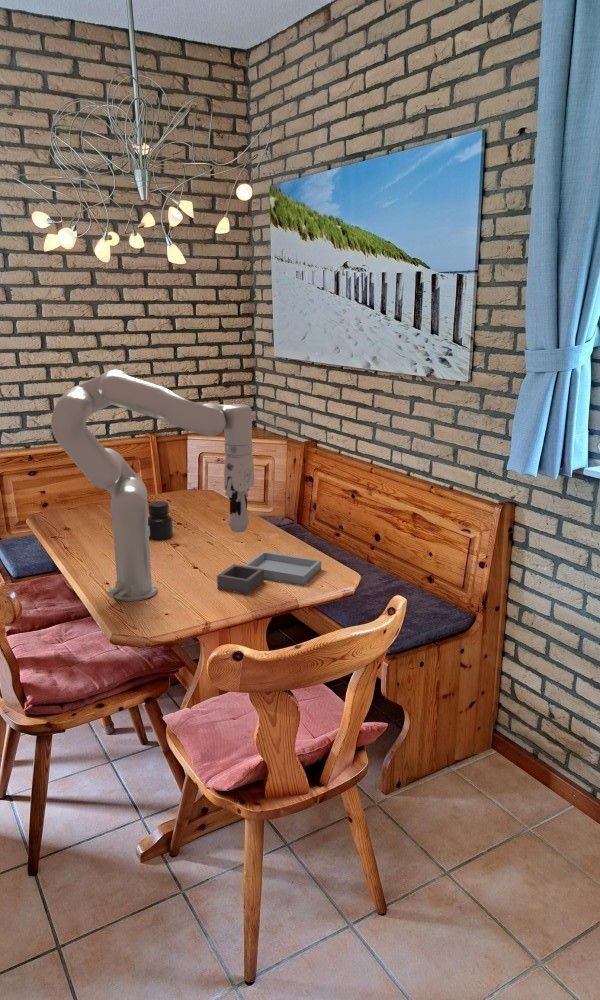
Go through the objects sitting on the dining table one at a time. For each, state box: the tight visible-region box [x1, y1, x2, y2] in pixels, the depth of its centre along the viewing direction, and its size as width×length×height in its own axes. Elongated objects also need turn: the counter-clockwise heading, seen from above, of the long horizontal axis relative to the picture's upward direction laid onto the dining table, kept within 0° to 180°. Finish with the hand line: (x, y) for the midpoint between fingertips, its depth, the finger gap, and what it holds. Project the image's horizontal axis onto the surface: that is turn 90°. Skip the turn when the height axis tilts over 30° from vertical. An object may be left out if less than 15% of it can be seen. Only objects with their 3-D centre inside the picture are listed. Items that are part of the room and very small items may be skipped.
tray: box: [242, 550, 322, 587], centre depth 217 cm, size 14×20×3 cm
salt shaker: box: [227, 489, 250, 533], centre depth 201 cm, size 6×6×13 cm
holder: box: [216, 563, 265, 595], centre depth 207 cm, size 10×10×4 cm
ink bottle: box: [148, 500, 174, 541], centre depth 247 cm, size 10×9×12 cm
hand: (238, 512), depth 201 cm, fingers closed on salt shaker, 3 cm apart
